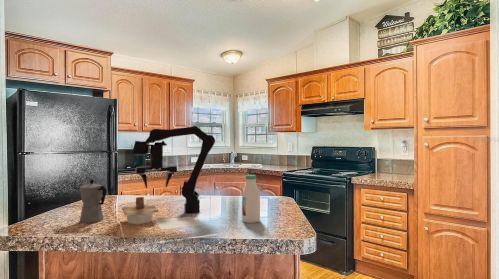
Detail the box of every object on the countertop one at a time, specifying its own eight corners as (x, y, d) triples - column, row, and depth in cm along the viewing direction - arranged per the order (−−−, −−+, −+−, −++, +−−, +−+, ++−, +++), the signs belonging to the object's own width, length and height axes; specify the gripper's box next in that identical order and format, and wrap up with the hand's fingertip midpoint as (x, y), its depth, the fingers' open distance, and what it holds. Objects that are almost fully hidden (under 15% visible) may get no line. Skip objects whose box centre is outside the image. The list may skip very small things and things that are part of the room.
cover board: (153, 206, 141) (153, 194, 141) (158, 212, 130) (158, 199, 130) (122, 209, 136) (122, 196, 136) (124, 215, 124) (124, 201, 124)
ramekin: (145, 227, 126) (145, 214, 126) (120, 225, 128) (120, 212, 128) (158, 220, 137) (158, 208, 137) (135, 219, 139) (135, 207, 139)
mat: (191, 217, 141) (191, 216, 141) (201, 226, 126) (201, 224, 126) (154, 221, 134) (154, 220, 134) (161, 231, 120) (161, 229, 120)
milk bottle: (262, 219, 137) (262, 174, 138) (256, 224, 130) (256, 176, 130) (245, 218, 140) (245, 173, 140) (239, 222, 133) (239, 175, 133)
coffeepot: (71, 221, 134) (71, 179, 135) (90, 216, 143) (91, 177, 143) (96, 225, 128) (96, 181, 128) (114, 220, 136) (115, 179, 137)
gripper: (172, 154, 160) (172, 184, 160) (134, 154, 152) (134, 186, 152) (177, 155, 150) (177, 187, 150) (136, 155, 142) (136, 189, 142)
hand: (156, 187), depth 149 cm, fingers open, 9 cm apart
